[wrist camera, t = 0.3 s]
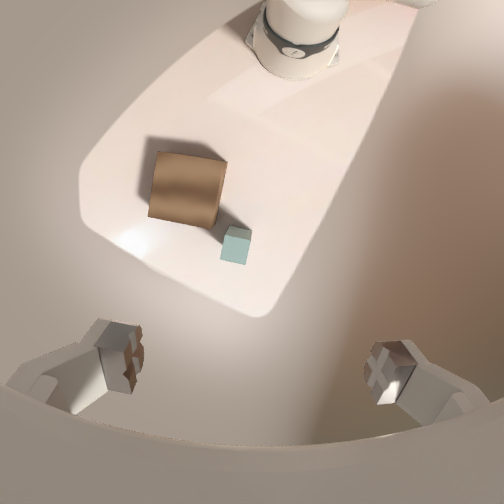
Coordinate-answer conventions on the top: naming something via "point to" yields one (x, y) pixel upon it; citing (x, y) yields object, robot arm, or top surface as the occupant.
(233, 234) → the tea tin
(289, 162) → the top surface
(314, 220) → the top surface
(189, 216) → the walnut block
